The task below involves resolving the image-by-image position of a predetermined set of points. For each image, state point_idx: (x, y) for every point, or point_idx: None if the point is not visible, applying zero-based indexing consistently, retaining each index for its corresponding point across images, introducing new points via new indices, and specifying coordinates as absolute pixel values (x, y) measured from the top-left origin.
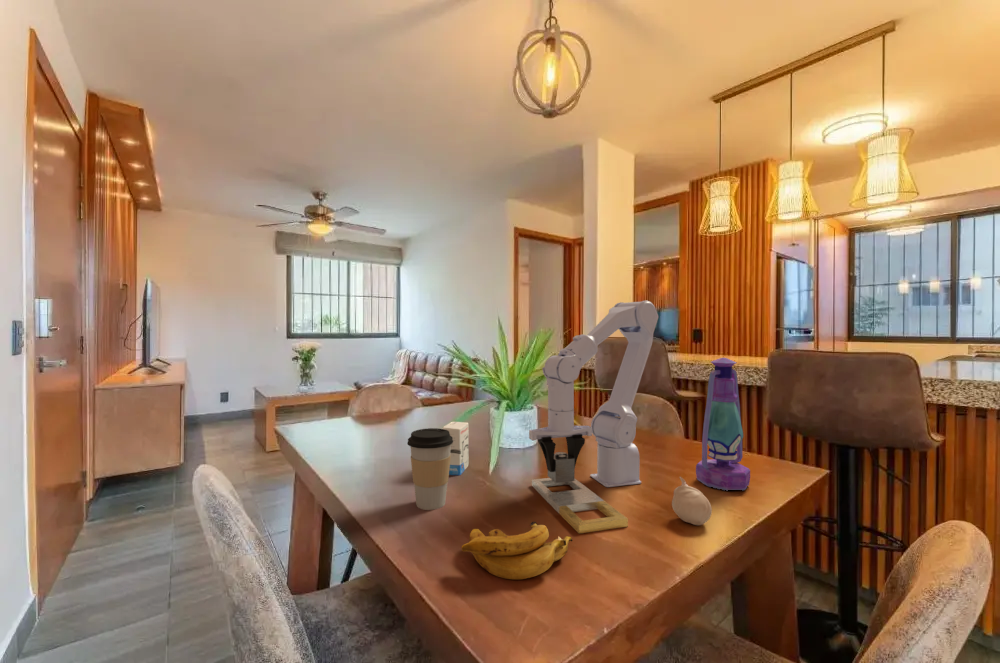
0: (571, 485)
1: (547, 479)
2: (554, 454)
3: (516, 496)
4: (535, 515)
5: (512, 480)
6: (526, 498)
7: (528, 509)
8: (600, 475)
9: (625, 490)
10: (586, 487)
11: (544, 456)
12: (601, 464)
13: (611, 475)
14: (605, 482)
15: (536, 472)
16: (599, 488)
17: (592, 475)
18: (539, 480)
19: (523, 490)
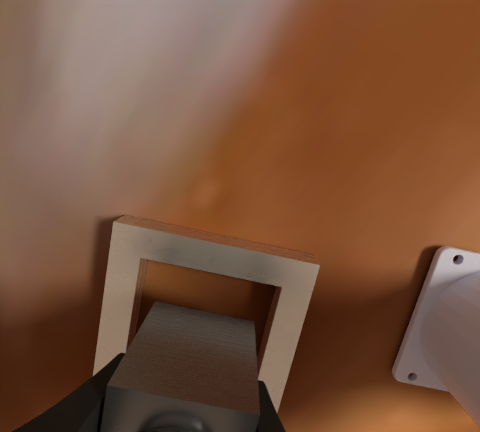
0: (271, 309)
1: (184, 255)
2: (150, 412)
3: (16, 277)
4: (15, 429)
5: (74, 104)
6: (45, 310)
7: (12, 387)
8: (434, 340)
9: (433, 415)
10: (279, 401)
11: (67, 396)
12: (472, 387)
13: (454, 397)
14: (418, 354)
15: (246, 57)
16: (364, 360)
17: (440, 266)
18: (142, 247)
19: (69, 238)
